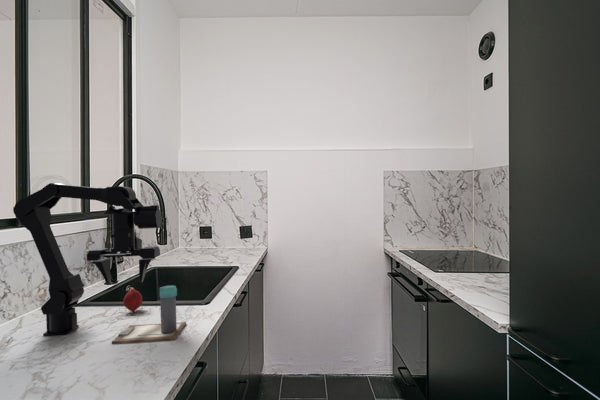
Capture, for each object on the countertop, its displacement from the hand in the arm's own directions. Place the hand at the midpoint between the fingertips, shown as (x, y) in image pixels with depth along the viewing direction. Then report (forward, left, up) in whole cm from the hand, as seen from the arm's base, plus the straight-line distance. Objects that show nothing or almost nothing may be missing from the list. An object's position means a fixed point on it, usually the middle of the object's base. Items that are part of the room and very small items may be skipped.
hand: (125, 283), depth 104 cm
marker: (+14, -7, -12) cm, 20 cm away
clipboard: (+9, -6, -13) cm, 17 cm away
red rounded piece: (-4, +16, -13) cm, 21 cm away
